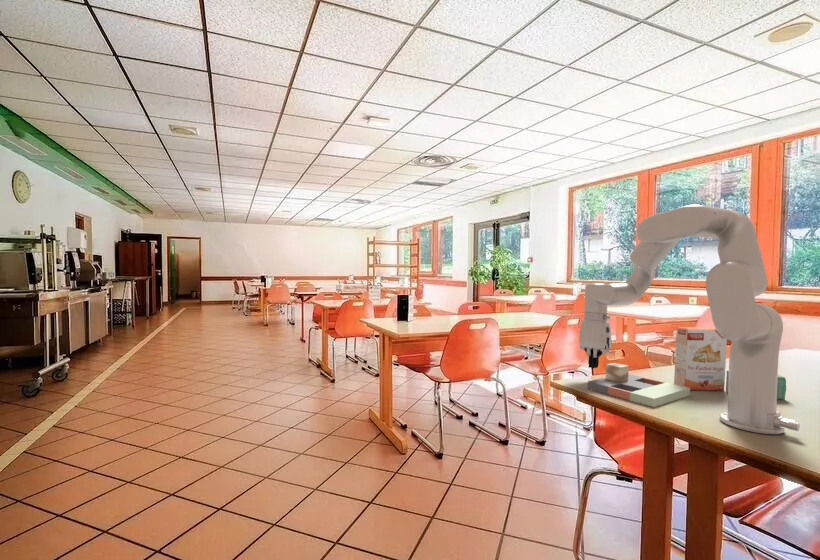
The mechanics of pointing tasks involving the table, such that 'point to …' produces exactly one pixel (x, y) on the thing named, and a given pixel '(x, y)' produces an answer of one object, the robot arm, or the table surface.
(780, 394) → the box
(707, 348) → the cracker box
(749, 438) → the table surface
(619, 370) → the block
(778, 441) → the table surface
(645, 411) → the table surface
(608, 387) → the platform
